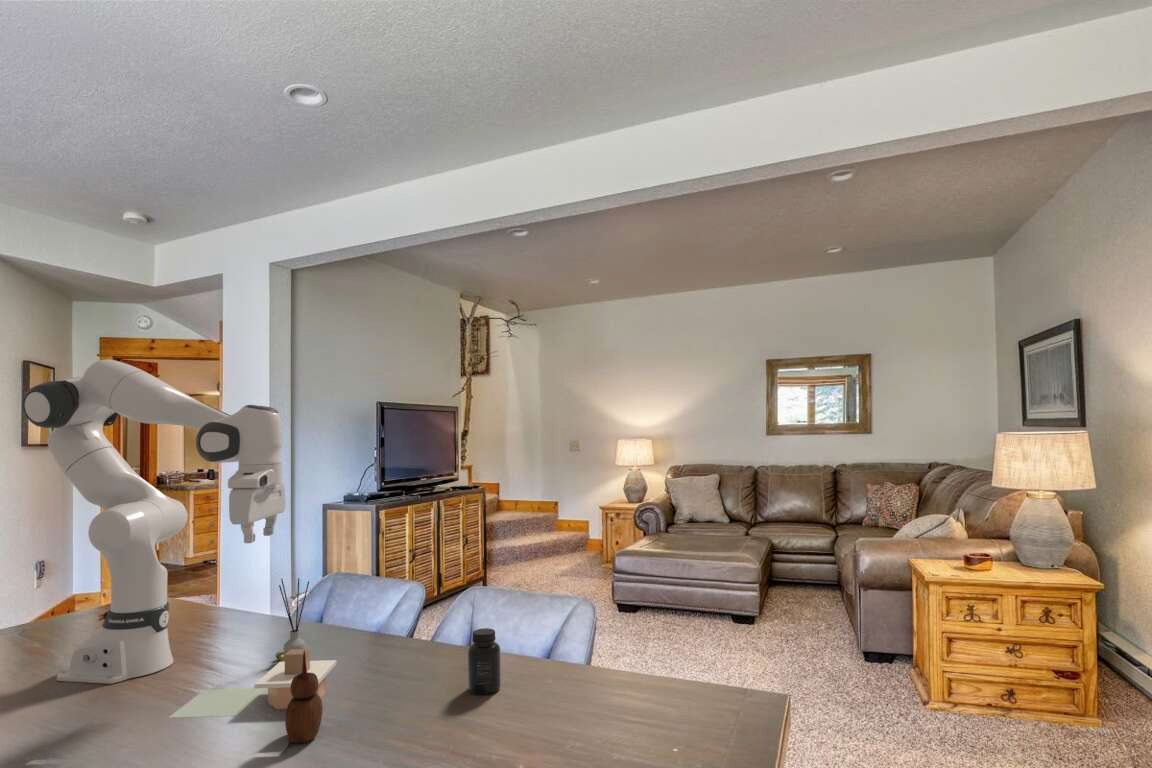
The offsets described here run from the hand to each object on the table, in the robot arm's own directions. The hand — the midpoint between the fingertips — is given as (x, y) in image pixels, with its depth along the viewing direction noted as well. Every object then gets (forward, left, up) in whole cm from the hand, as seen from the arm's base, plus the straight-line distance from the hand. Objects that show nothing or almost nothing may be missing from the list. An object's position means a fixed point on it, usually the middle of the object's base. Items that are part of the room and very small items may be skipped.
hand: (259, 538), depth 144 cm
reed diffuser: (+3, +10, -31) cm, 33 cm away
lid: (+13, -11, -26) cm, 31 cm away
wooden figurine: (+20, -27, -31) cm, 46 cm away
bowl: (+13, -11, -31) cm, 35 cm away
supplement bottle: (+51, -8, -31) cm, 60 cm away
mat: (-2, -12, -31) cm, 33 cm away
